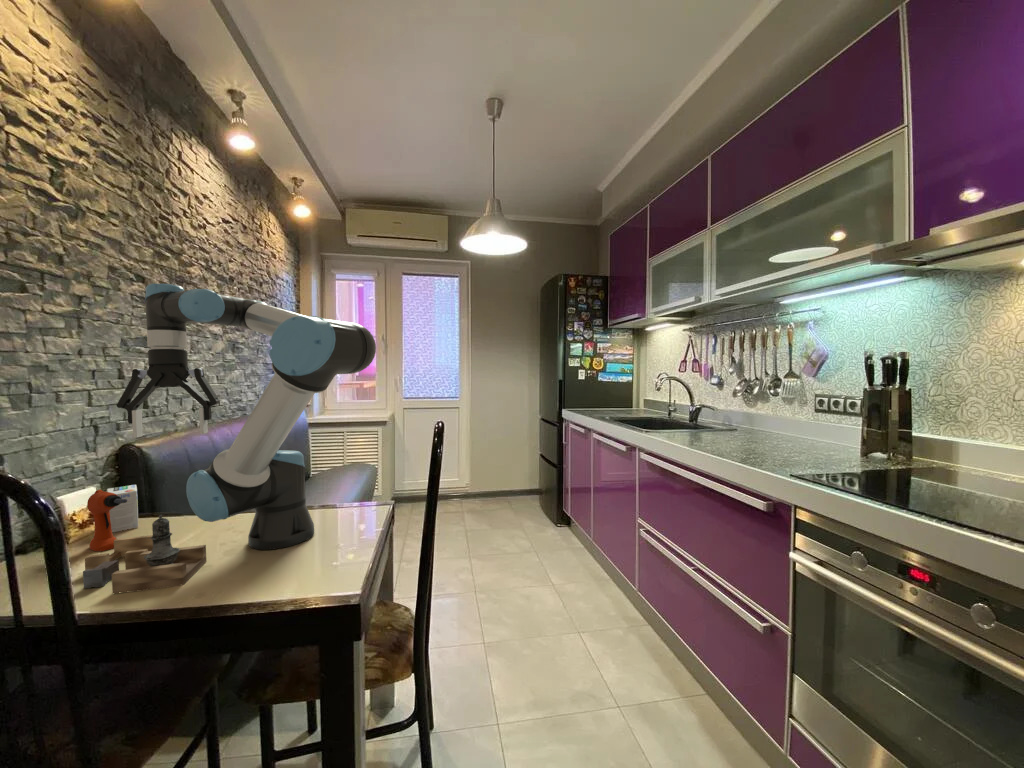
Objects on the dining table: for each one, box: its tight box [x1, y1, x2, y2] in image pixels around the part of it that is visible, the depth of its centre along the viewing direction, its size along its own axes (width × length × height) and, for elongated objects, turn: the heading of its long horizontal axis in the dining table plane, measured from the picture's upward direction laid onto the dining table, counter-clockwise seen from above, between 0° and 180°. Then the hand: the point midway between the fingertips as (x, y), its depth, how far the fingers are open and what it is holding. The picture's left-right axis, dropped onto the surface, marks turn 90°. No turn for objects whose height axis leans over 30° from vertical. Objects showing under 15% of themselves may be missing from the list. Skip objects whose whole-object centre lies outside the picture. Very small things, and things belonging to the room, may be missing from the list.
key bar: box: [82, 559, 120, 589], centre depth 89 cm, size 3×6×4 cm, turn 15°
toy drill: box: [86, 489, 127, 552], centre depth 106 cm, size 5×19×15 cm, turn 62°
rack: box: [111, 544, 208, 594], centre depth 91 cm, size 12×11×4 cm
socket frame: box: [84, 534, 153, 570], centre depth 99 cm, size 11×11×4 cm
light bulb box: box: [106, 484, 139, 533], centre depth 123 cm, size 11×7×11 cm, turn 43°
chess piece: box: [144, 514, 180, 567], centre depth 90 cm, size 6×6×12 cm
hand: (171, 435), depth 104 cm, fingers open, 13 cm apart
